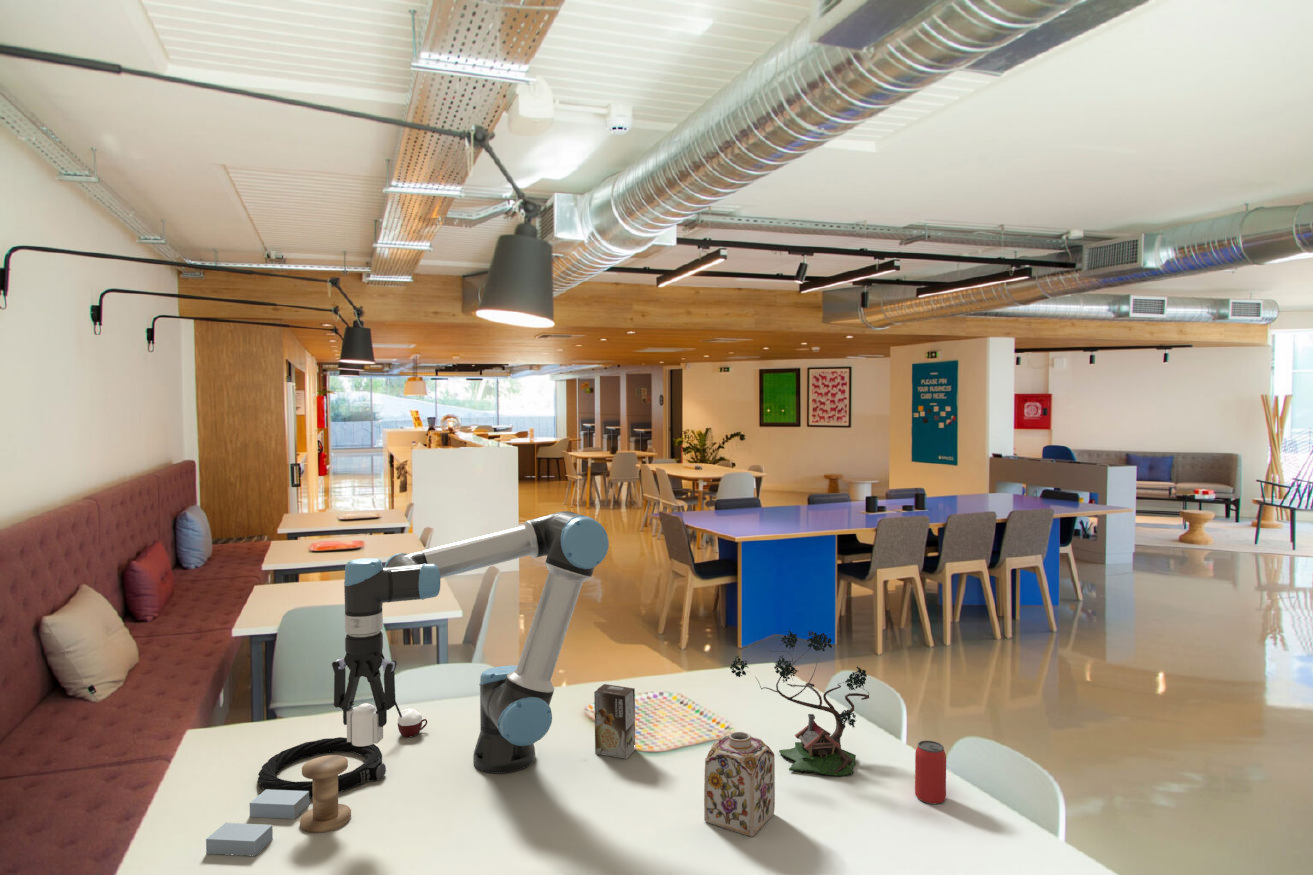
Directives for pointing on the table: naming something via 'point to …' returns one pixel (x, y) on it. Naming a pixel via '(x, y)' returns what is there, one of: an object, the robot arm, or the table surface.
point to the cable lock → (345, 781)
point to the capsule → (363, 725)
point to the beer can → (930, 772)
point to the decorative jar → (739, 783)
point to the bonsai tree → (816, 742)
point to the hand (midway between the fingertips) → (365, 739)
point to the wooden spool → (325, 795)
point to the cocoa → (409, 722)
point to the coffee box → (614, 721)
